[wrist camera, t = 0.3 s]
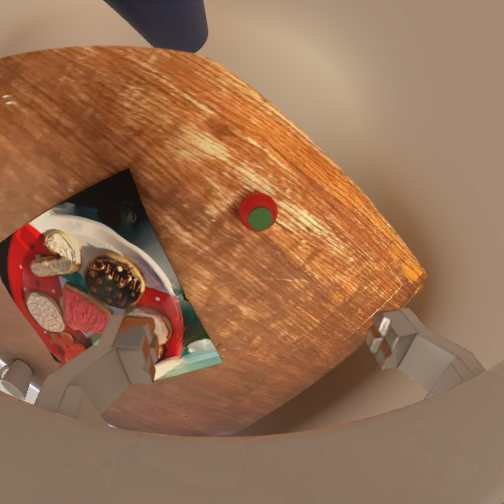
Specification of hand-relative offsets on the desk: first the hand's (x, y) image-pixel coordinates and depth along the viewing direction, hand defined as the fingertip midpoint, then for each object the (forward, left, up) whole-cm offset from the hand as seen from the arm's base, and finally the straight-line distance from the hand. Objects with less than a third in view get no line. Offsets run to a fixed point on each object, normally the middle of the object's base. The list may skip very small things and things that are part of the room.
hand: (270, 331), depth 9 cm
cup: (+68, -13, -25) cm, 73 cm away
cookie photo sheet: (+31, -4, -25) cm, 40 cm away
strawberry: (+1, +4, -25) cm, 25 cm away
